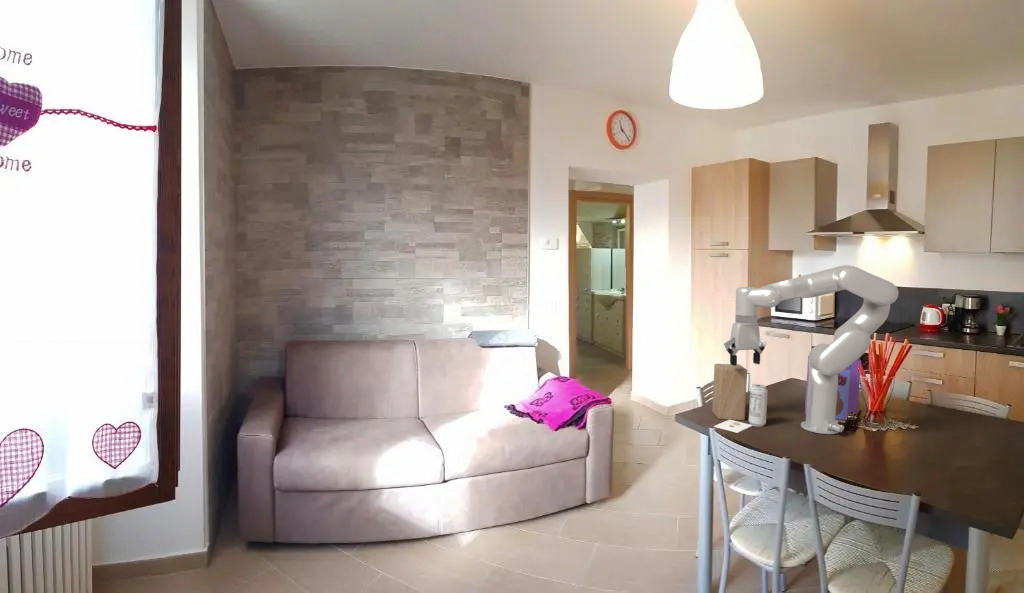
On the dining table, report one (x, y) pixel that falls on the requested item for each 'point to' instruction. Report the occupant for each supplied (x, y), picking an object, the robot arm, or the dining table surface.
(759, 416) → the energy drink can
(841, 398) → the cereal box
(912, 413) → the dining table surface
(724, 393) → the wooden block
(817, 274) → the robot arm
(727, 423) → the white printed card
